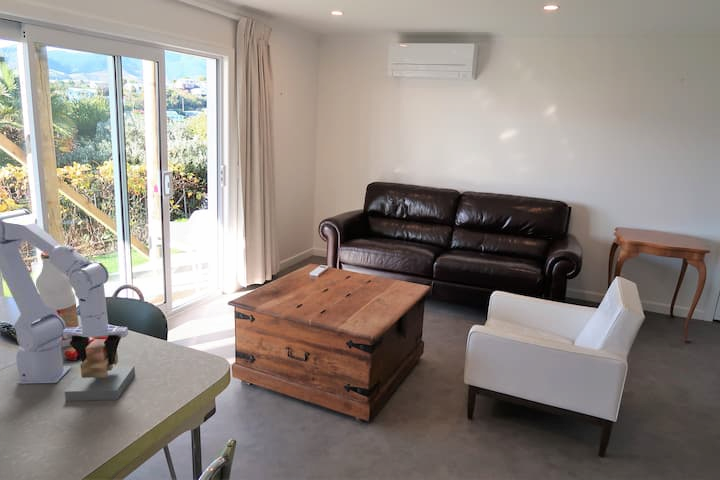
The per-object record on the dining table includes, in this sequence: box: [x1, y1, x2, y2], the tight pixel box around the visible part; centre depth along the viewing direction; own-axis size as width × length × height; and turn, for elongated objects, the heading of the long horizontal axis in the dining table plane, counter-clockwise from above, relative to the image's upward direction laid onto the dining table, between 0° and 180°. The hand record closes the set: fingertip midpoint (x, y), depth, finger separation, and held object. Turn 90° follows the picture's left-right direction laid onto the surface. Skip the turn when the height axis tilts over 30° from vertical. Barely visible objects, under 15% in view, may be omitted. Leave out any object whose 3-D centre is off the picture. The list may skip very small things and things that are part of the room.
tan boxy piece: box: [79, 350, 119, 378], centre depth 123 cm, size 6×8×4 cm
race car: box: [63, 337, 108, 361], centre depth 142 cm, size 13×5×4 cm, turn 152°
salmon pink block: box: [86, 339, 108, 361], centre depth 122 cm, size 4×5×4 cm
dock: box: [64, 365, 136, 402], centre depth 124 cm, size 12×12×2 cm
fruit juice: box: [35, 251, 80, 349], centre depth 144 cm, size 9×9×28 cm
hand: (99, 362), depth 123 cm, fingers closed on tan boxy piece, 5 cm apart
